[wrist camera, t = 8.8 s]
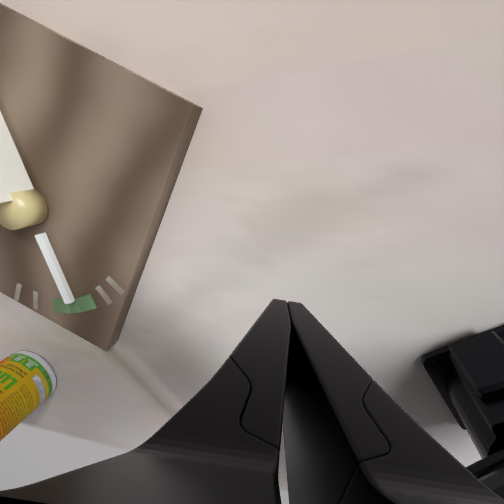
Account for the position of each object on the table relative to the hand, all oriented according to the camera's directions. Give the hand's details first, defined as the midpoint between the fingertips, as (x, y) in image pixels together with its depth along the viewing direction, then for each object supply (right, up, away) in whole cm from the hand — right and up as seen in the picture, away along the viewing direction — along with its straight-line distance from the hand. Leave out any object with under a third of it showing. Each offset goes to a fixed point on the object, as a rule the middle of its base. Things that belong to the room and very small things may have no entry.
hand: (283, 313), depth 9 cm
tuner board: (-16, +6, +14) cm, 22 cm away
